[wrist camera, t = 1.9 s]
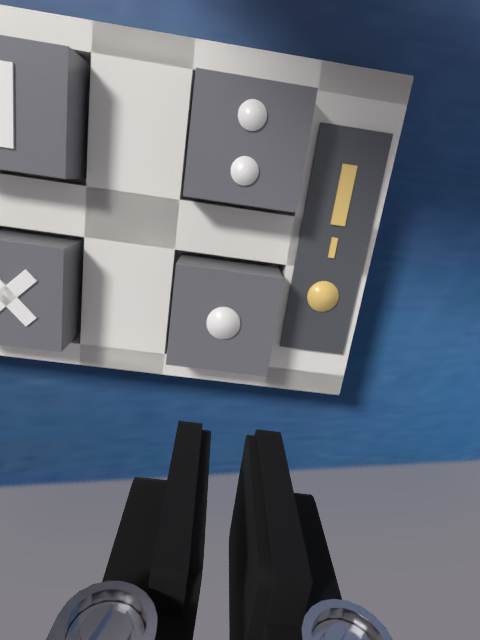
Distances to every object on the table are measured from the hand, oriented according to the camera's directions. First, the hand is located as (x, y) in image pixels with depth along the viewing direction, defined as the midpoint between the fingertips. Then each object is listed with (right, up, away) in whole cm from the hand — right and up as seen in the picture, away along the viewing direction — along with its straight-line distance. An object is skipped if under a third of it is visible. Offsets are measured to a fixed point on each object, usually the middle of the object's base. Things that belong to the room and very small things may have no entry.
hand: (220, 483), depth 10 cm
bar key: (-9, +13, +11) cm, 19 cm away
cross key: (-10, +6, +13) cm, 18 cm away
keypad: (-5, +10, +15) cm, 18 cm away
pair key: (+1, +12, +11) cm, 17 cm away
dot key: (0, +5, +14) cm, 15 cm away
